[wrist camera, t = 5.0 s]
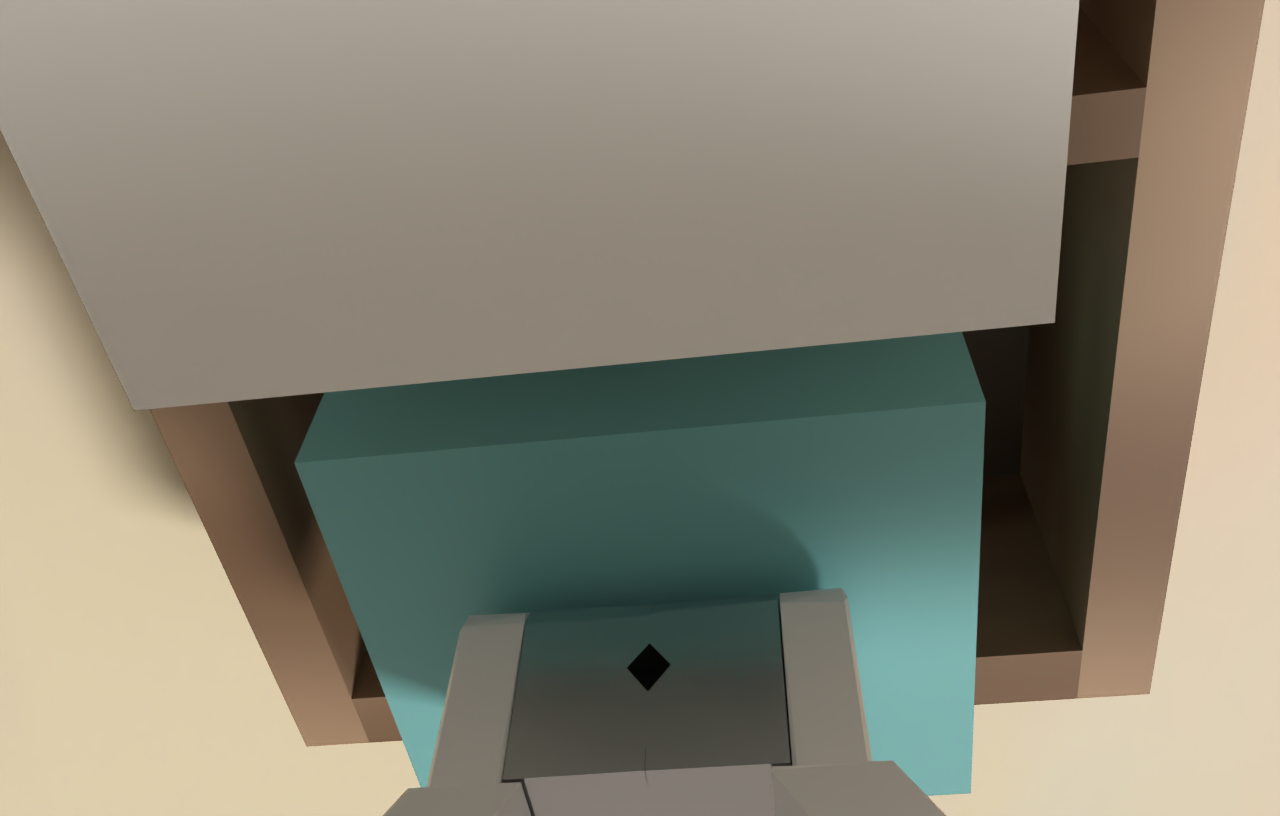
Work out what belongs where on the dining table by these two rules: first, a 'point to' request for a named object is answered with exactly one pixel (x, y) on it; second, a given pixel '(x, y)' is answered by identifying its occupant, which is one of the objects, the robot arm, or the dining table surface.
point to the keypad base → (1007, 372)
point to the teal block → (673, 513)
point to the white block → (533, 179)
